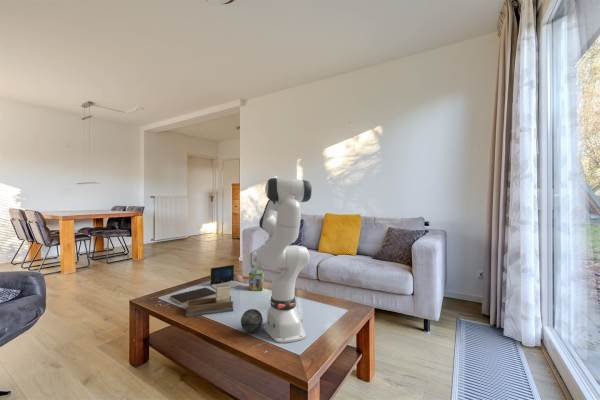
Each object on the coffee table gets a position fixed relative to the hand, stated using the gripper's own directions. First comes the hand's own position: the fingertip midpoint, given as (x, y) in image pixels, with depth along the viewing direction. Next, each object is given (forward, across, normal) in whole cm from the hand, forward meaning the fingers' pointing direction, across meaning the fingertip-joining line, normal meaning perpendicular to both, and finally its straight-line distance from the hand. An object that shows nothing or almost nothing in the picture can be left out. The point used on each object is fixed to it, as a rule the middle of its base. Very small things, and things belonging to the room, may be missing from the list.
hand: (255, 262), depth 160 cm
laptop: (+26, -38, +9) cm, 47 cm away
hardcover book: (+41, -22, -6) cm, 47 cm away
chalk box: (+12, -26, +22) cm, 36 cm away
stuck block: (+29, 0, +3) cm, 29 cm away
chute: (+35, 0, -1) cm, 35 cm away
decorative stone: (+23, +34, +11) cm, 42 cm away
